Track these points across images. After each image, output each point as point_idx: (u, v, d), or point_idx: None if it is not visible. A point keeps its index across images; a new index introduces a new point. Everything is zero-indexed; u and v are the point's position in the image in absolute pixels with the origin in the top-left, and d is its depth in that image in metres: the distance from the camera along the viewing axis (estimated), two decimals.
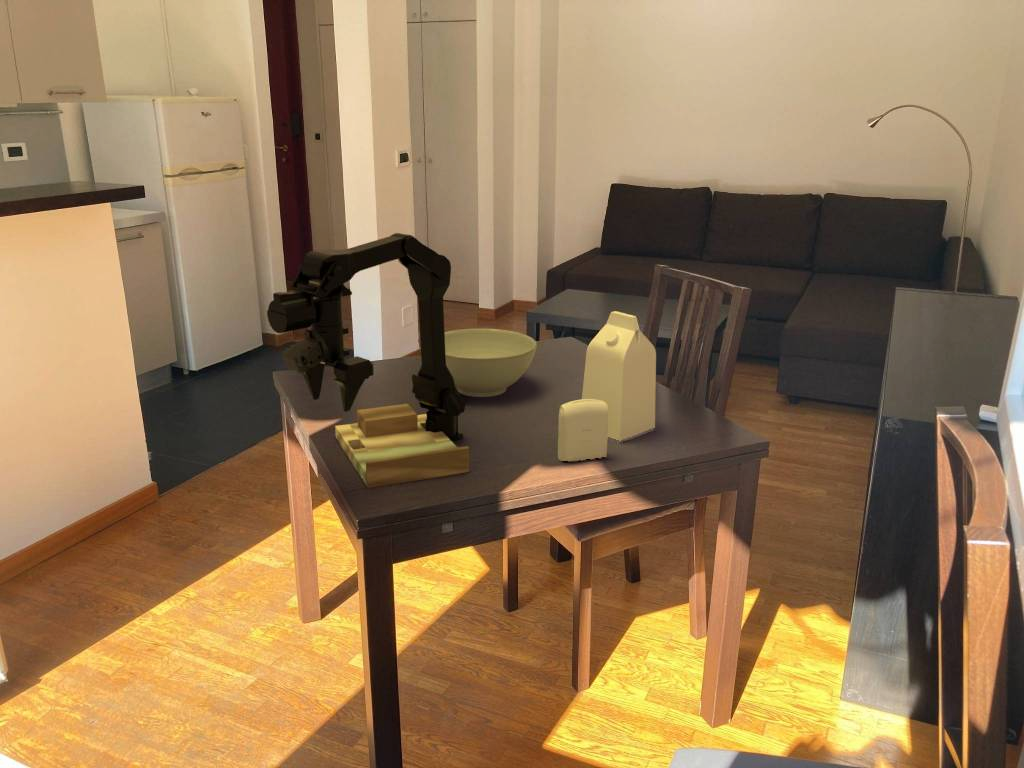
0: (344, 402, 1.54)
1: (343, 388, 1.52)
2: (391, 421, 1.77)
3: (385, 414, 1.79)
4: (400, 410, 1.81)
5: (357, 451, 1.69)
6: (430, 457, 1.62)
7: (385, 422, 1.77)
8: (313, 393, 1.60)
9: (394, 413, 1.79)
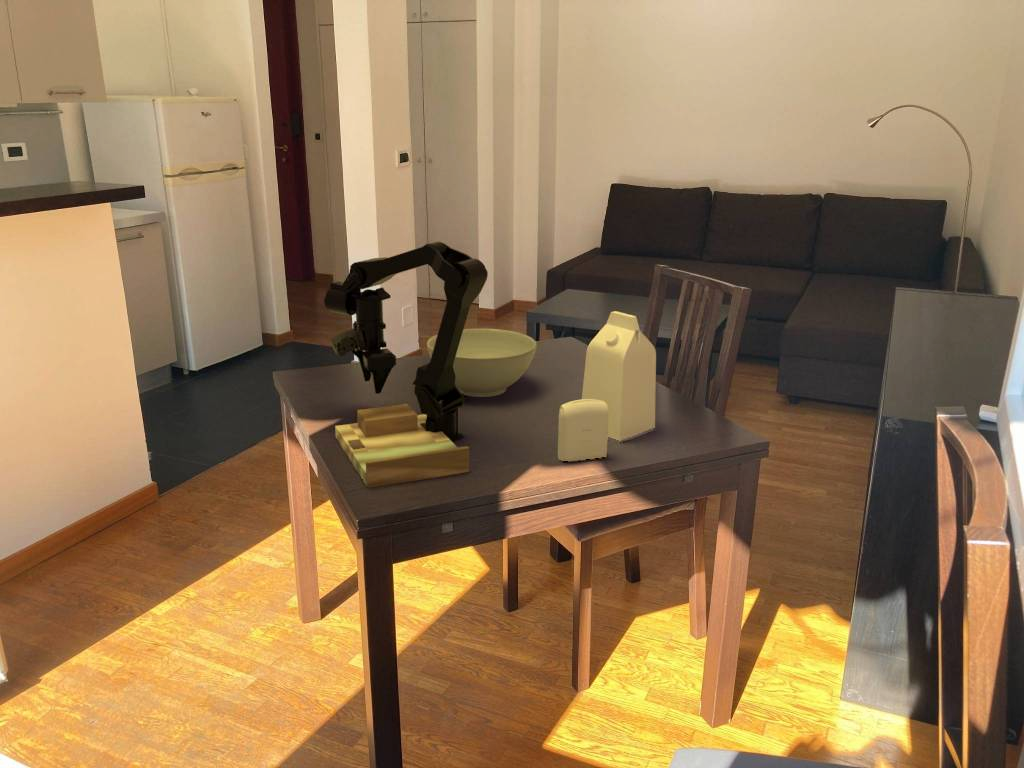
0: (374, 385, 1.84)
1: (371, 373, 1.82)
2: (391, 421, 1.77)
3: (385, 414, 1.79)
4: (400, 410, 1.81)
5: (357, 451, 1.69)
6: (430, 457, 1.62)
7: (385, 422, 1.77)
8: (364, 375, 1.93)
9: (394, 413, 1.79)
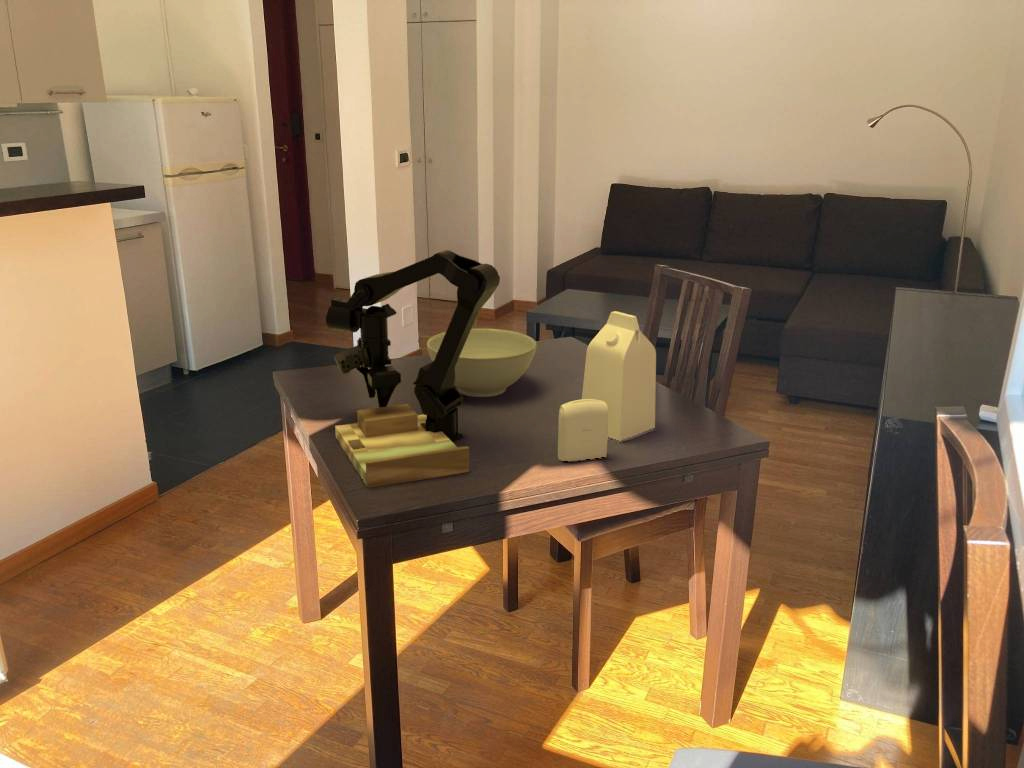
0: (378, 402, 1.82)
1: (376, 391, 1.81)
2: (391, 421, 1.77)
3: (385, 414, 1.79)
4: (400, 410, 1.81)
5: (357, 451, 1.69)
6: (430, 457, 1.62)
7: (385, 422, 1.77)
8: (368, 392, 1.91)
9: (395, 413, 1.79)
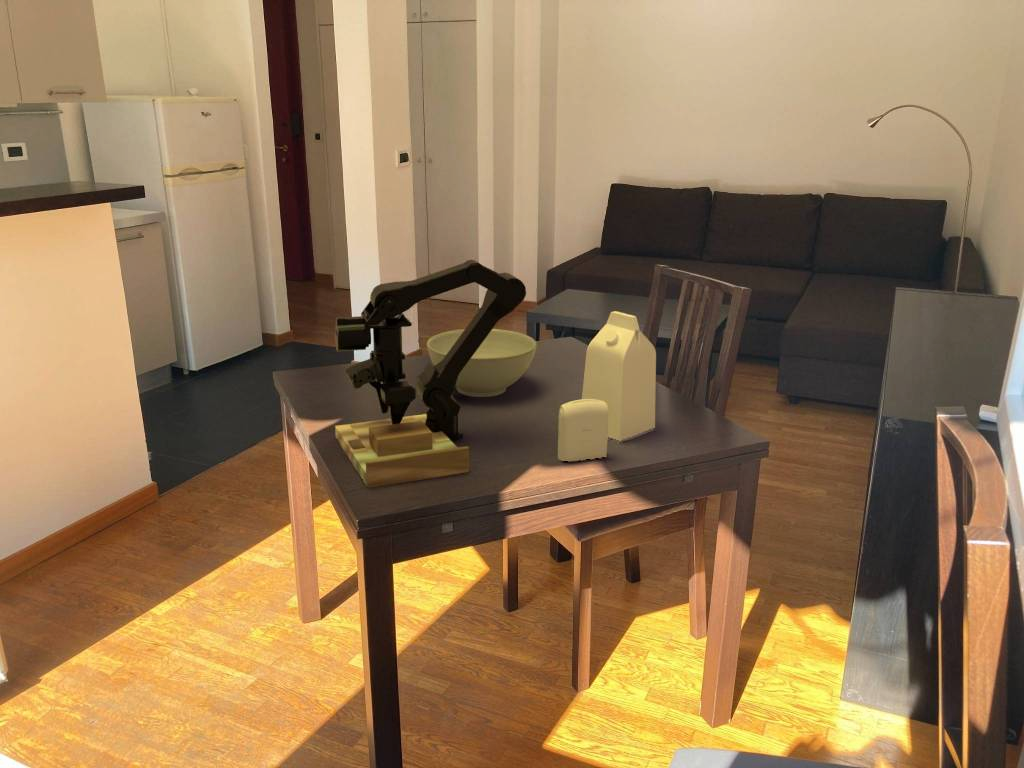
0: (391, 419, 1.73)
1: (389, 407, 1.71)
2: (404, 440, 1.68)
3: (398, 432, 1.69)
4: (414, 428, 1.72)
5: (357, 451, 1.69)
6: (430, 457, 1.62)
7: (398, 440, 1.67)
8: (381, 407, 1.81)
9: (408, 431, 1.70)
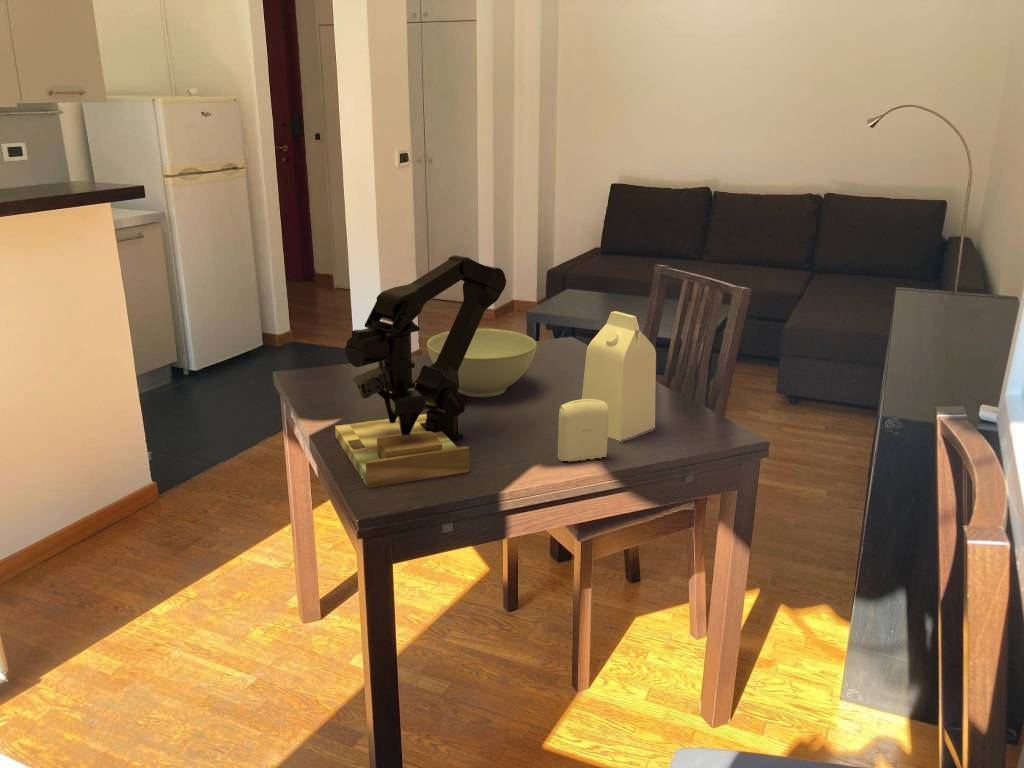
0: (401, 430, 1.68)
1: (399, 417, 1.66)
2: (413, 452, 1.62)
3: (407, 443, 1.64)
4: (423, 439, 1.66)
5: (357, 451, 1.69)
6: (430, 457, 1.62)
7: (407, 452, 1.62)
8: (389, 417, 1.76)
9: (417, 443, 1.64)
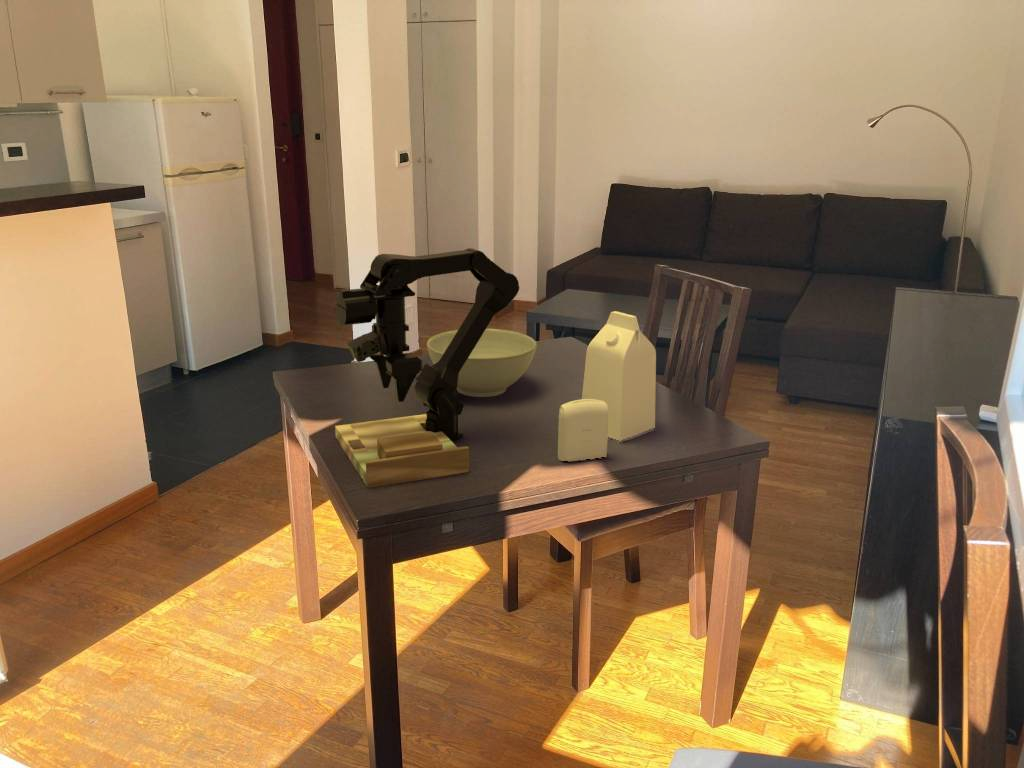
0: (397, 393, 1.69)
1: (395, 380, 1.67)
2: (413, 452, 1.62)
3: (407, 443, 1.64)
4: (423, 439, 1.66)
5: (357, 451, 1.69)
6: (430, 457, 1.62)
7: (407, 452, 1.62)
8: (382, 382, 1.77)
9: (418, 443, 1.64)
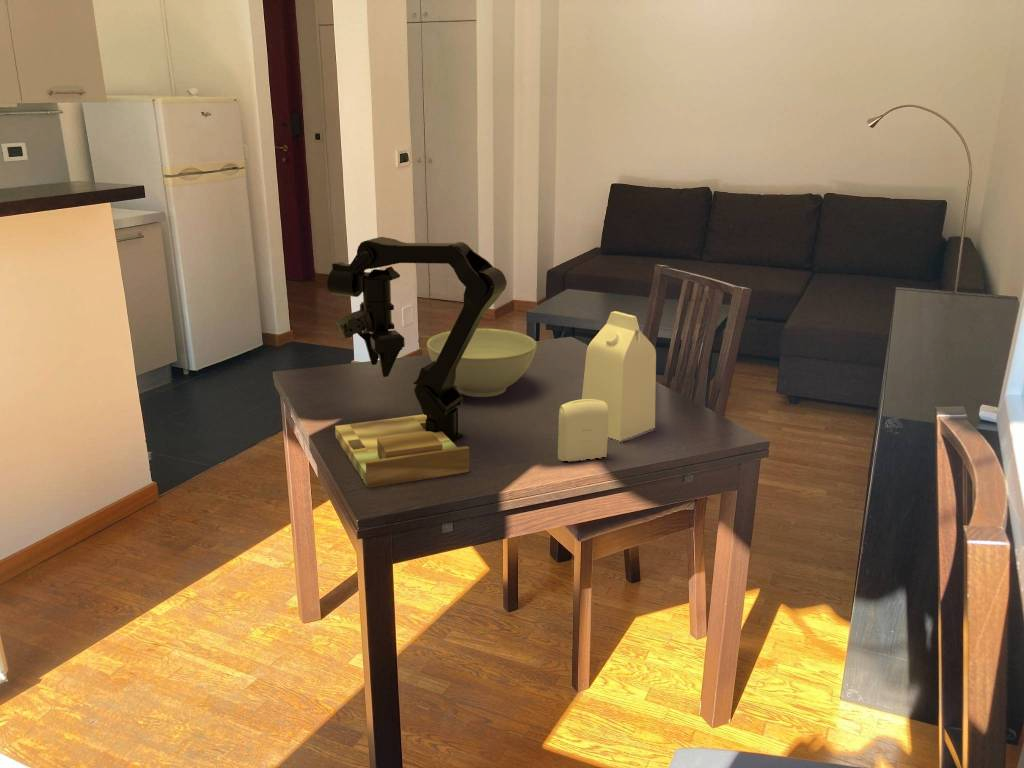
0: (381, 368, 1.79)
1: (379, 356, 1.77)
2: (413, 452, 1.62)
3: (407, 443, 1.64)
4: (423, 439, 1.66)
5: (357, 451, 1.69)
6: (430, 457, 1.62)
7: (407, 452, 1.62)
8: (371, 359, 1.87)
9: (418, 443, 1.64)
